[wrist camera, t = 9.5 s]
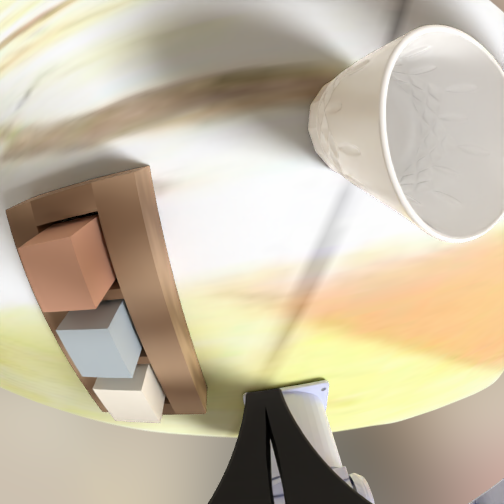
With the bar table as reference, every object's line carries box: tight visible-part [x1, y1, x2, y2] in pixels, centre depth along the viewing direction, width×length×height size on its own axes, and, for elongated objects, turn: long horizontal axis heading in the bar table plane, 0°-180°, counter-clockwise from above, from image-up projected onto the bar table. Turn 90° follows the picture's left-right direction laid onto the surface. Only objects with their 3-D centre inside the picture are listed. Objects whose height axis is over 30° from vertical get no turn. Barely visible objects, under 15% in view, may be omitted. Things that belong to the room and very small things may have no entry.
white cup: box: [308, 24, 504, 243], centre depth 11 cm, size 8×8×10 cm
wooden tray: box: [6, 166, 207, 415], centre depth 18 cm, size 19×10×3 cm, turn 6°
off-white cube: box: [93, 364, 166, 423], centre depth 19 cm, size 4×4×4 cm
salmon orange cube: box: [18, 214, 117, 312], centre depth 14 cm, size 4×4×4 cm
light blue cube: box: [56, 299, 143, 378], centre depth 16 cm, size 4×4×4 cm
